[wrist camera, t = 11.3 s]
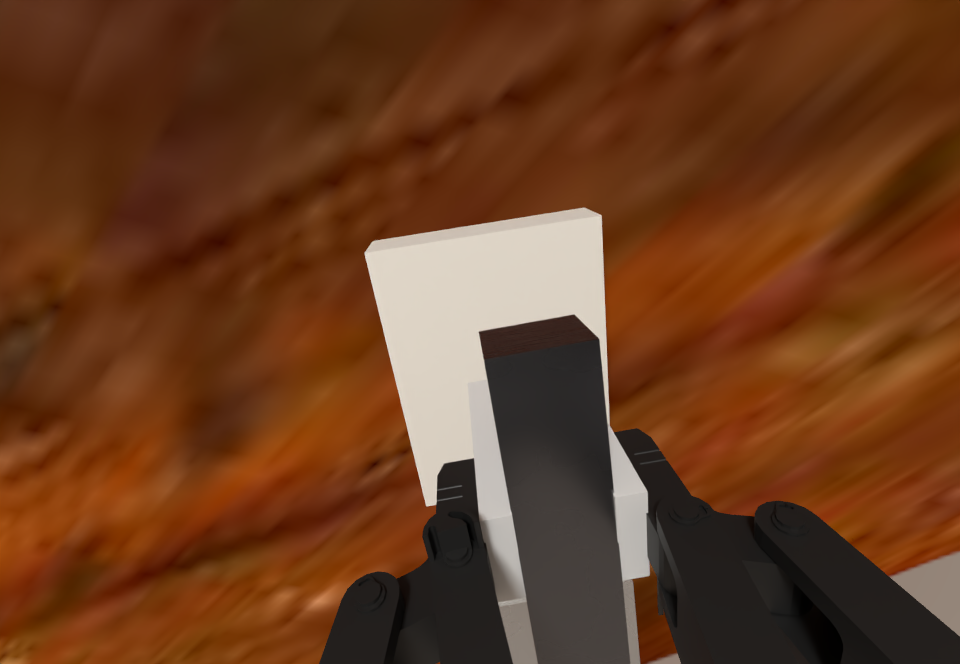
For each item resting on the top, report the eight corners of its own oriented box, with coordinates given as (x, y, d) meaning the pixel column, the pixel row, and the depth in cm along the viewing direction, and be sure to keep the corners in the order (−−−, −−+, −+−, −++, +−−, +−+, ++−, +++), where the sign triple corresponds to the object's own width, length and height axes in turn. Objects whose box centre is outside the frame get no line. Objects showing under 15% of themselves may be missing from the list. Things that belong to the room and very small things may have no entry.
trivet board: (372, 241, 26) (364, 253, 23) (584, 207, 26) (601, 215, 23) (427, 474, 32) (426, 506, 29) (597, 446, 32) (611, 475, 29)
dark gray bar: (417, 306, 15) (397, 375, 9) (596, 274, 15) (685, 323, 9) (520, 781, 22) (544, 986, 16) (642, 758, 22) (708, 955, 16)
